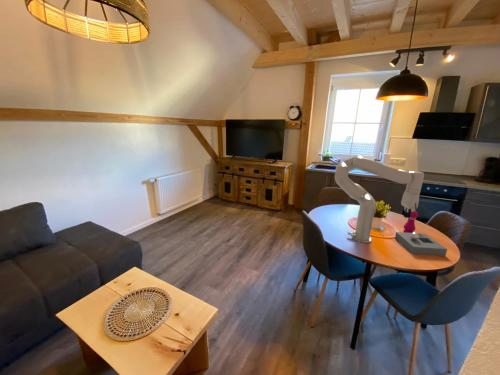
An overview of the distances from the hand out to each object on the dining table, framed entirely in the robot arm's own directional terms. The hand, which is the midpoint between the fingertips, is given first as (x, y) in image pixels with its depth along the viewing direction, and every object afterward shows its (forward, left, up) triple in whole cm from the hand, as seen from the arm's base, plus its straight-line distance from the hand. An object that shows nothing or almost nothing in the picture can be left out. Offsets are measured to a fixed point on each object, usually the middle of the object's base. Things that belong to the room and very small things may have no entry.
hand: (406, 217), depth 142 cm
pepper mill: (+17, +20, -21) cm, 34 cm away
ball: (+8, 0, -13) cm, 16 cm away
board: (+12, 0, -21) cm, 24 cm away
